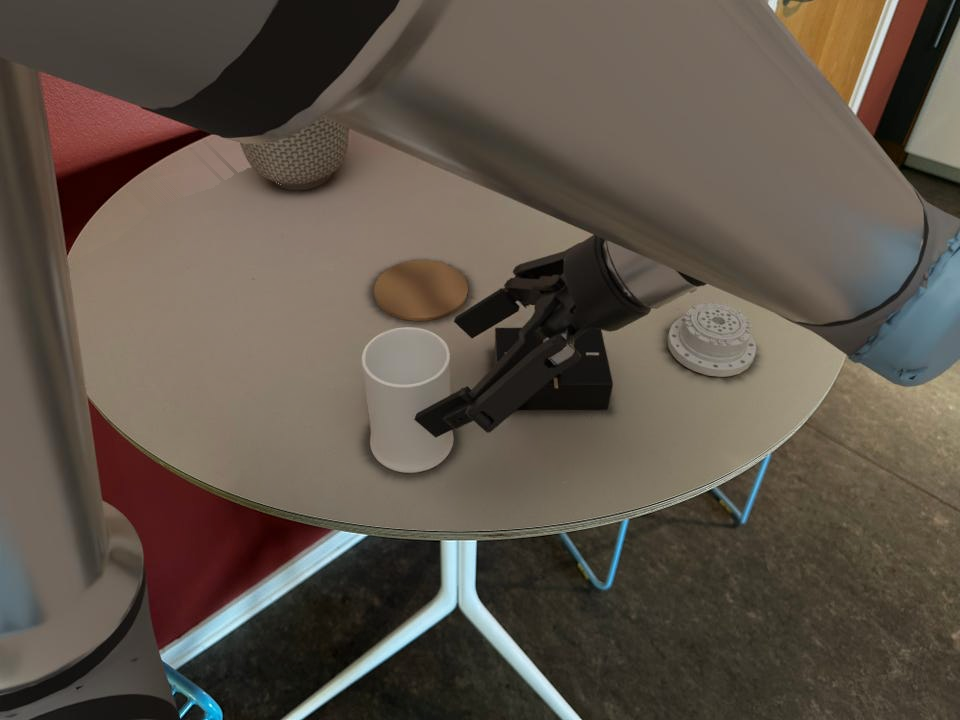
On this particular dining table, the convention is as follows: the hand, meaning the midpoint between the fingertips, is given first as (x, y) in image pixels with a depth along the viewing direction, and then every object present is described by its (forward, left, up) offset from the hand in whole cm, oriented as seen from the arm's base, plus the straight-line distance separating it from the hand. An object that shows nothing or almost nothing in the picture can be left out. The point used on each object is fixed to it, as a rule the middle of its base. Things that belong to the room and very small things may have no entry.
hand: (445, 373), depth 68 cm
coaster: (+15, +19, -9) cm, 26 cm away
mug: (-2, +3, -9) cm, 10 cm away
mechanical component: (+30, -14, -9) cm, 35 cm away
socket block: (+13, -3, -9) cm, 16 cm away
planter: (+23, +53, -9) cm, 59 cm away
